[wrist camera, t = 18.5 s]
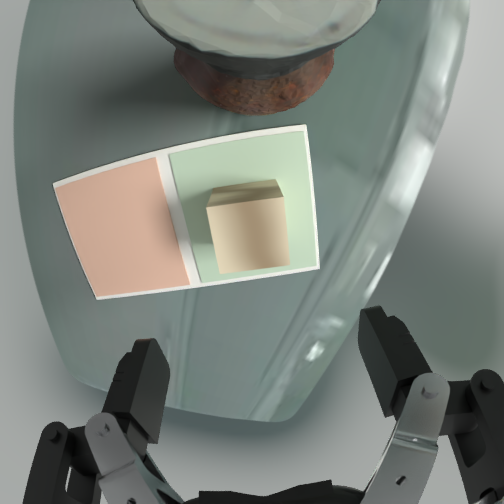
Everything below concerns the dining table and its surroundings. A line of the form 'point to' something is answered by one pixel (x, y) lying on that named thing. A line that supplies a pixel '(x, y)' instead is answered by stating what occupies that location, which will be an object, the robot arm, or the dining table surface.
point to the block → (248, 226)
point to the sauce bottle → (256, 46)
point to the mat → (183, 211)
